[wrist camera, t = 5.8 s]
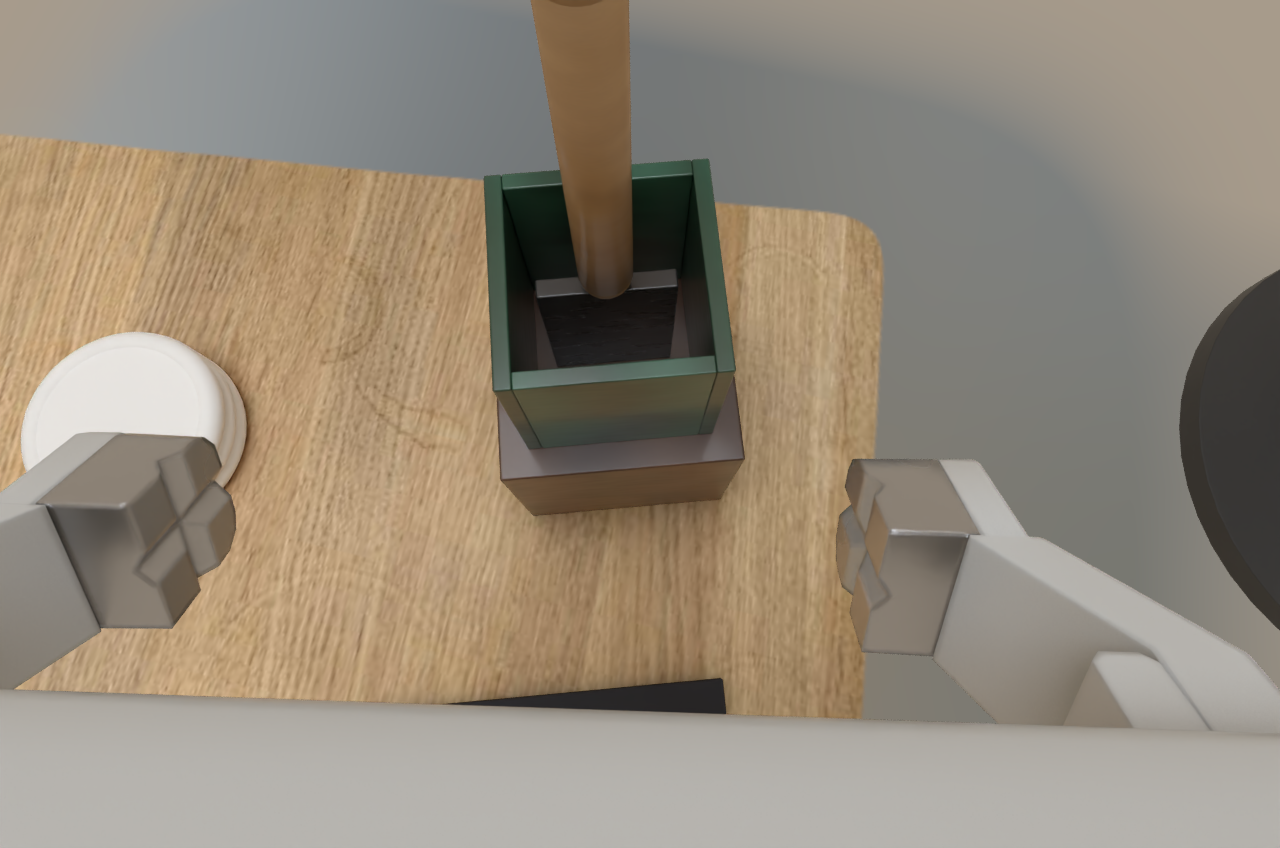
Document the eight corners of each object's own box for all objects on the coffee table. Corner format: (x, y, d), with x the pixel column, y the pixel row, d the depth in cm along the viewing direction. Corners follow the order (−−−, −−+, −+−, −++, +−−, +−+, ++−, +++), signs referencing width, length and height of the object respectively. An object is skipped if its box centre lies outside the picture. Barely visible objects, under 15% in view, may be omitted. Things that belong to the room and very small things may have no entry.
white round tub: (37, 411, 42) (-16, 391, 39) (205, 320, 44) (168, 294, 40) (107, 567, 40) (58, 561, 37) (281, 466, 42) (250, 452, 38)
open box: (699, 324, 44) (740, 124, 26) (720, 499, 41) (779, 404, 24) (523, 339, 44) (446, 146, 26) (532, 515, 41) (454, 432, 24)
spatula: (667, 329, 33) (712, -135, 13) (671, 369, 33) (724, -47, 13) (555, 339, 33) (424, -116, 13) (557, 379, 32) (426, -27, 12)
